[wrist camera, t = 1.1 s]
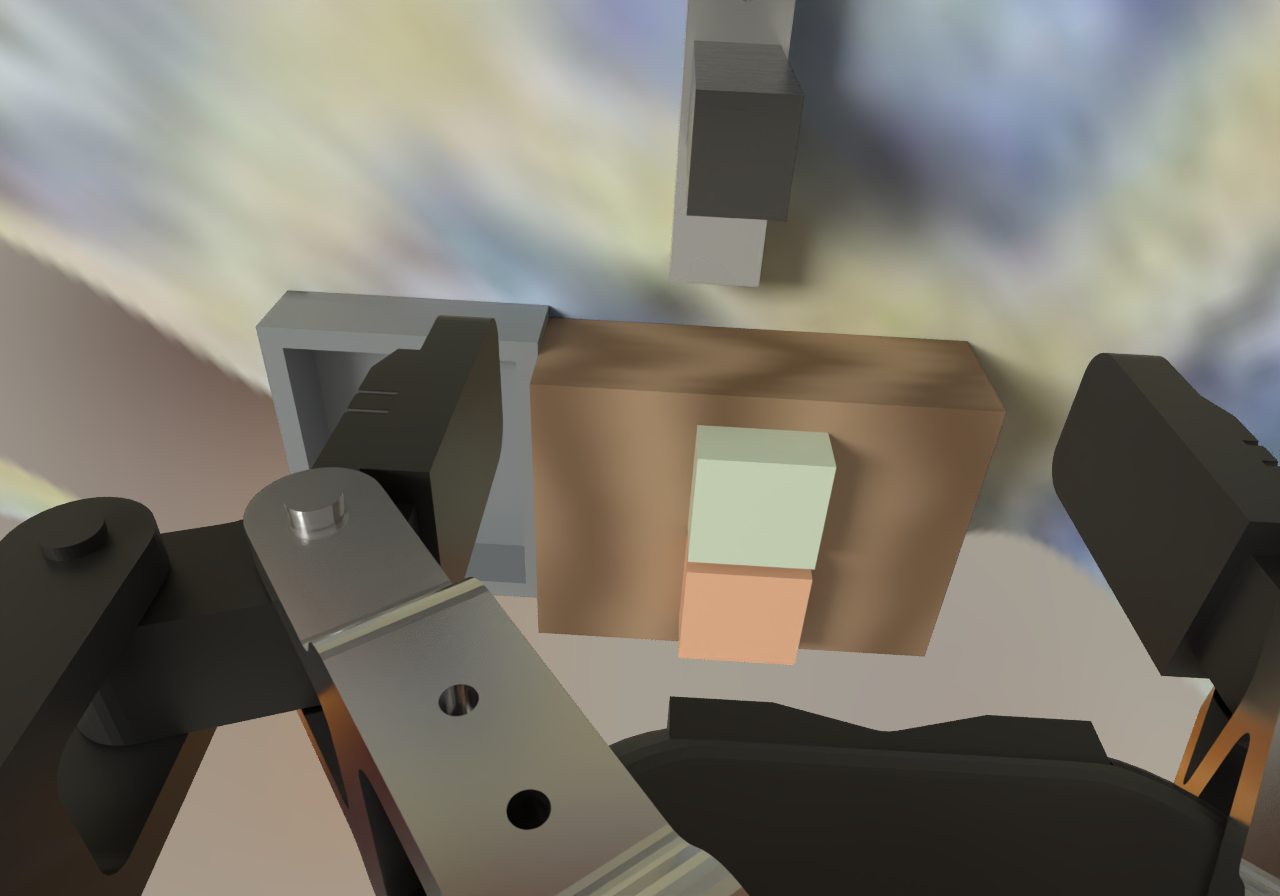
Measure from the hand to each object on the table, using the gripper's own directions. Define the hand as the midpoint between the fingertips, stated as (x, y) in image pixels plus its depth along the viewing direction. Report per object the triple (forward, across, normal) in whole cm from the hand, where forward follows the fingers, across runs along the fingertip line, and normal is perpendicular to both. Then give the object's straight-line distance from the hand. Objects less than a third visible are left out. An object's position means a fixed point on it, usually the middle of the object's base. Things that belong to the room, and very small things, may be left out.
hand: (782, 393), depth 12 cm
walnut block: (+20, -2, +15) cm, 25 cm away
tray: (+20, +11, +15) cm, 27 cm away
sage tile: (+15, -2, +12) cm, 19 cm away
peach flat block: (+15, -2, +18) cm, 23 cm away
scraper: (+20, 0, 0) cm, 20 cm away
